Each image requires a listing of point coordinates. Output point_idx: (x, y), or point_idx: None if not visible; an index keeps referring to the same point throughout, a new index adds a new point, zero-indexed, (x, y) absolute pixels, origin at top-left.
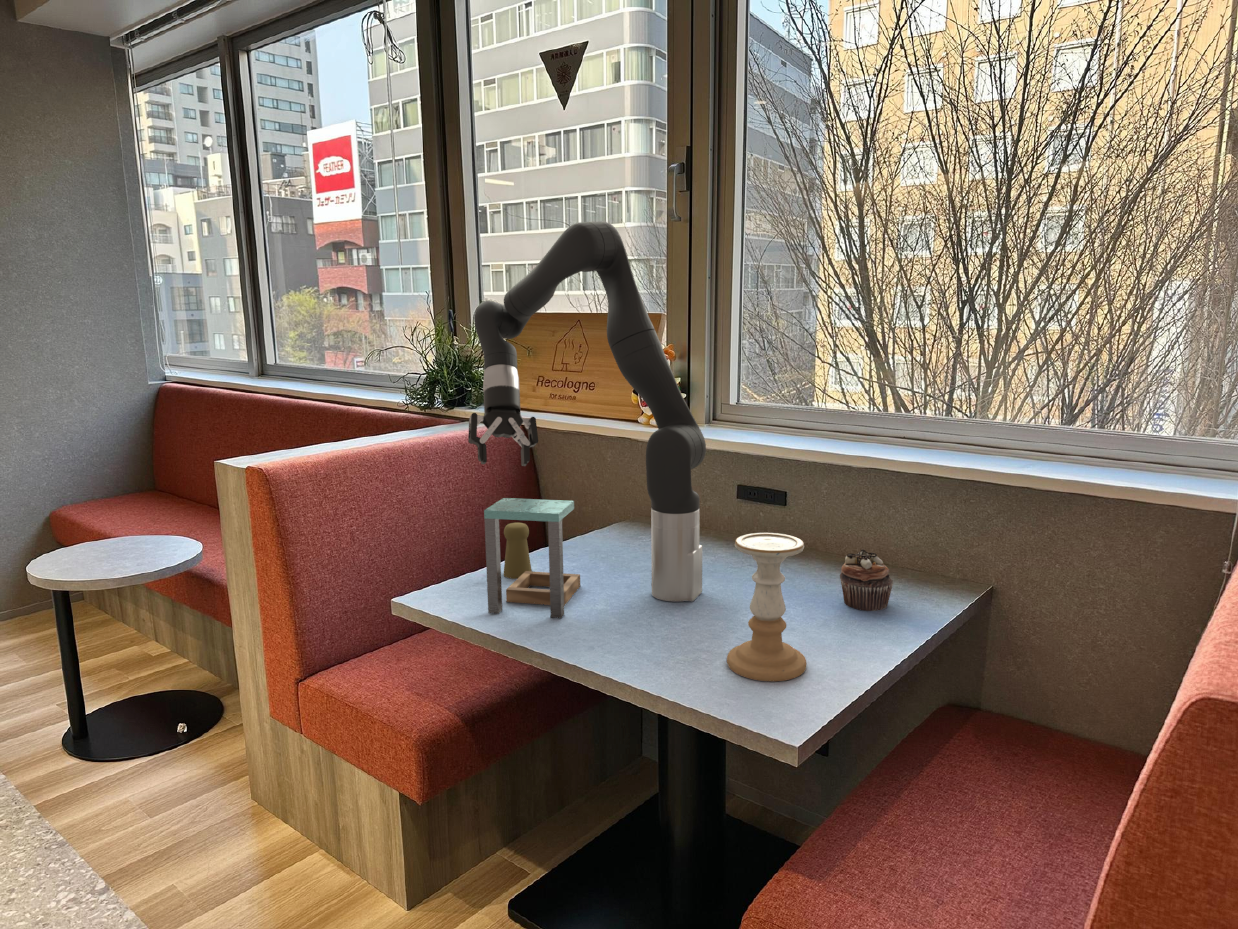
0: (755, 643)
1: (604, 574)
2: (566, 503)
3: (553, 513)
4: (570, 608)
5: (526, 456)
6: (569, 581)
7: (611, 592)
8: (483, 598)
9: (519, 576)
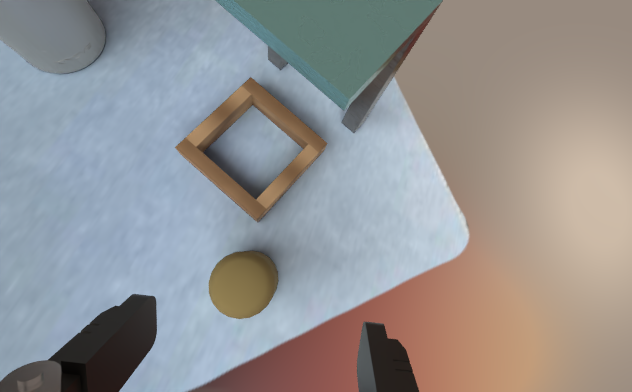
0: None
1: (102, 192)
2: None
3: None
4: (248, 76)
5: (116, 312)
6: (213, 122)
7: (151, 102)
8: (350, 186)
9: (257, 252)
